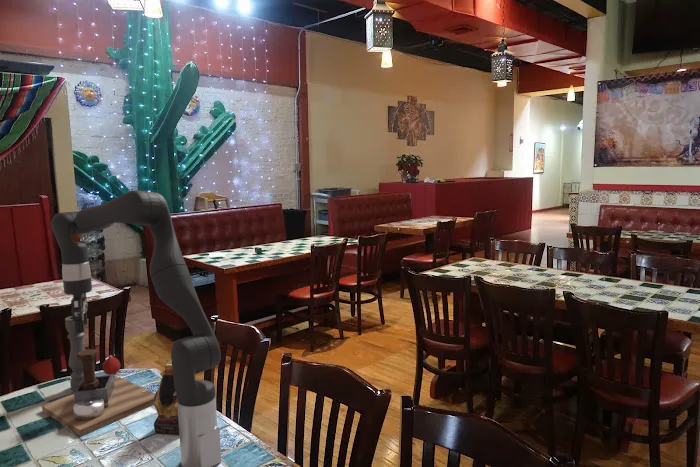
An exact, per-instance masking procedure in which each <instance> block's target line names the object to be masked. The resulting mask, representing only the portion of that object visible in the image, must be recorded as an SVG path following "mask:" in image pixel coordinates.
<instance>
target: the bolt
mask: <svg viewBox="0 0 700 467" xmlns="http://www.w3.org/2000/svg"><path fill="white" fill-rule="evenodd" d="M98 355H99V352H98V350H97V349H94V348H87V349H85V350H83V351H81V352H79V353H78V354H77V358H78V359H80V360H82V364H83V375H84V381H83V382H82V383H81V387H82V388H83V389H84V390H85V391H86V390H93V389H96V387H97V386H98V385H99V380H98V379H96V378H95V376H96V371H95V370H96V369H95V357H98Z"/></svg>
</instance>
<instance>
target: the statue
mask: <svg viewBox="0 0 700 467" xmlns="http://www.w3.org/2000/svg"><path fill="white" fill-rule="evenodd" d="M159 374H160V376H161V378H160V382H159V386H158V389H157V390H156V392H155V396H154V399H155V403H154V404H153V406H154V408H155V410H156V412H157V417H156V418H155V419H154V422H153V430H154V433H155V434H159V435H165V436H166V435H169V436H179V421H178V405H177V395H176V391H175V386H174V377H173V369H172V361H171V358H167V359H166V362H165V365H164V370H163V371H161V372H159Z"/></svg>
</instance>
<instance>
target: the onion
mask: <svg viewBox="0 0 700 467" xmlns="http://www.w3.org/2000/svg"><path fill="white" fill-rule="evenodd" d="M120 370H121V362H120V360H119V359H118V358H116V357H115V356H113V355H109V356H108V358H107V359H105V360H104V362H103V364H102V371H103V373H105V374H106V375H112V374H113V375H114V376H116V375H117V374H118V372H119V371H120Z"/></svg>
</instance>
